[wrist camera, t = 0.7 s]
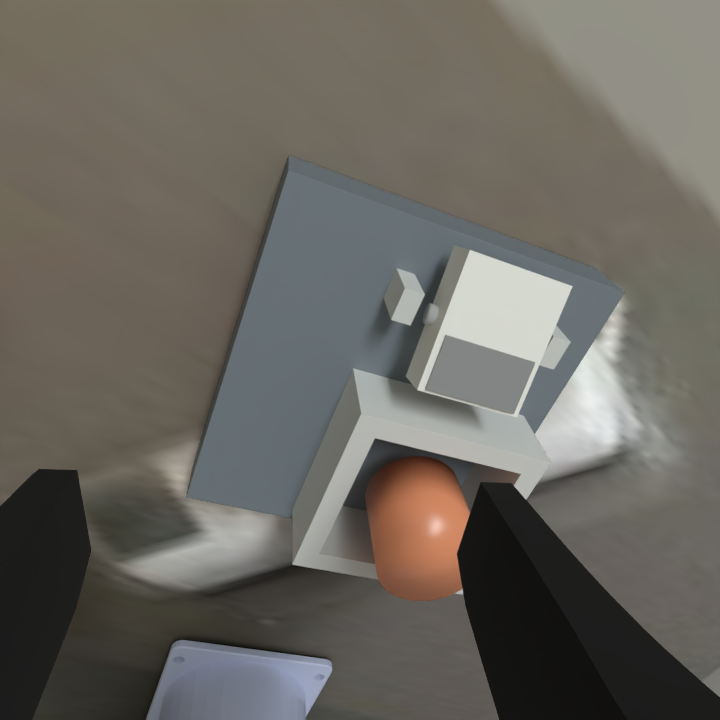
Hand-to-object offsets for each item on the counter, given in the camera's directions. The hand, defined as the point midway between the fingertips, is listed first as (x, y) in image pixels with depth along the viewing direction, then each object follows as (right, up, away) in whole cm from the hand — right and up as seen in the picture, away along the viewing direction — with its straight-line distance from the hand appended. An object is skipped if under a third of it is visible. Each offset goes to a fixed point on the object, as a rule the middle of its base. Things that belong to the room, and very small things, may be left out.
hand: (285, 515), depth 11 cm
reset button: (+3, -2, +9) cm, 10 cm away
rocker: (+5, +4, +6) cm, 9 cm away
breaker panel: (+2, +3, +10) cm, 11 cm away
